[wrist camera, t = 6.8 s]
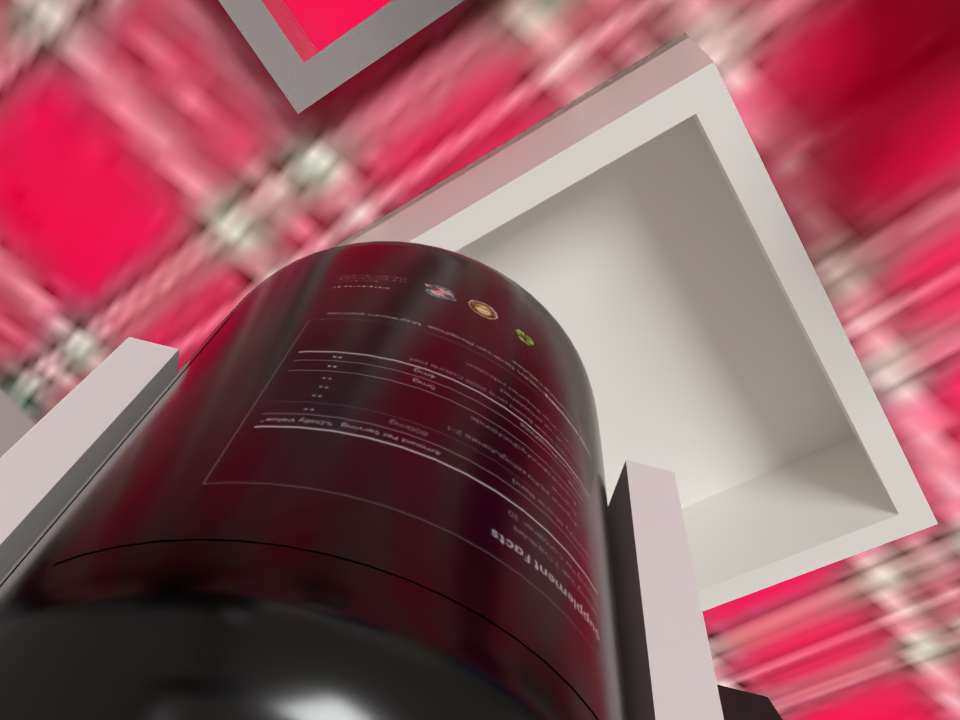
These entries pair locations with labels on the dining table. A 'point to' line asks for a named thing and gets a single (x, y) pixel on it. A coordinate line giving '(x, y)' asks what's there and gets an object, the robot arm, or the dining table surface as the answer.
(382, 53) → the socket collar
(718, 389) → the bin
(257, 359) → the supplement bottle
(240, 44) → the dining table surface
